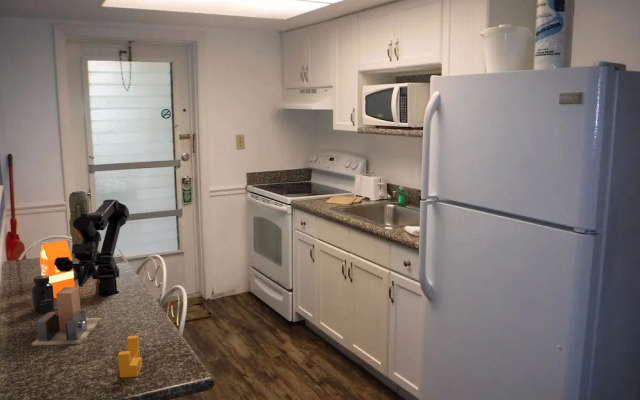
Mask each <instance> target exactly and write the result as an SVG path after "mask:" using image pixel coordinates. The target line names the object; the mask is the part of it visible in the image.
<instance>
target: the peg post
mask: <svg viewBox="0 0 640 400" xmlns="http://www.w3.org/2000/svg"><path fill="white" fill-rule="evenodd" d="M79 288H80V287H79V286H75V287H64V288H63V289H61V290H60V291H59V292H58V293H56V297H57V298H56V305H57V315H58V316H59V326H60V331H63V330H66V328H65V324H66V323H67V320H69V319H70V318H71V317H72V316H73V315H74V314H75V313H76V312H77V311H82V309H81V298H80V289H79Z"/></svg>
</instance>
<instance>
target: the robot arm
mask: <svg viewBox="0 0 640 400" xmlns="http://www.w3.org/2000/svg"><path fill="white" fill-rule="evenodd" d="M128 218H130V211H129V208H128V206H127V205H126V204H123V203H121V202H120V201H119V200H117V199H105V200H103V201H102V204H101V205H100V206H99V207H98V208H97V209H96V210H95V211H94V212H93V211H92V212H89V214H81V216H80V217H78V218H77V219H76V220H75V221H74V222H73V227H74V228H75V230H76V232H77V233H78V235H79V236H80V237H81V238H82V242H81V244H72V246H71V255H73V254H75V256H74V255H73V258H74V257H75V258H77V260H73V259H72V261H70V259H69V258H68V257H57V258H56V259H55V262H54V265H55V266H56V267H57V269H58V270H59V271H60V272H69V271H71V270H72V268H73V272H74V271H75V272H76V273H77V277H76V279H77V282H78V283H77V284H78V287H79V288H82V287H84V286H85V284H86V283H87V282H88V280H89V279H92V280H96V282H95V294H97V295H99V296H100V297H103V298H104V297H108V296H111V295H114V294H119V293H120V290H118V286H117V278H120V274H121V273H120V268H119V267H118V264H117V263H116V260H115V258H114V254H115V250H116V246H117V242H118V239H119V234H120V230H121V228H122V227H123V226H124V225H126V224H127V220H128ZM104 230H105V234H104V237H103V241H102V236H101V235H102V234H101V233H100V232H99V231H104ZM101 241H102V245H101V248H100V252H99V245H100V242H101ZM83 267H84V270H83Z"/></svg>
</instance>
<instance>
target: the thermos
mask: <svg viewBox="0 0 640 400" xmlns="http://www.w3.org/2000/svg"><path fill="white" fill-rule="evenodd" d="M68 207H69V209H68V210H69V212H70V215H69V217H70V218H69V222H68V224H69V233H70V236H71V243H72V244H81V242H82V238H81V237H80V236H79V235H78V233H77V232H76V230H75V228H74V227H73V222H74V221H75V220H76V219H77V218H78V217H80V216H81V214H89V213H90V210H91V209H90V199H89V197H88V194H87V192H85V191H73V192H71V193H70V194H69V197H68ZM72 255H73V258H72V261H73V260H77V258H75V257H74V256H75V254H72ZM83 270H84V267H83ZM73 274H74V278H75V277H76V278H77V273H76V272H75V271H74V270H73Z"/></svg>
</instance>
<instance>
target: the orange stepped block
mask: <svg viewBox="0 0 640 400" xmlns="http://www.w3.org/2000/svg"><path fill="white" fill-rule="evenodd" d="M126 341H127V347H126V350H123V351H119V353H118V354H117V356H118V359H117V360H118V368H119V378H135V377H138V376H139V374H140V371H141V370H142V368H143V357H142V356H141V353H140V336H139V334H137V335H128V337H127V339H126Z"/></svg>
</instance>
